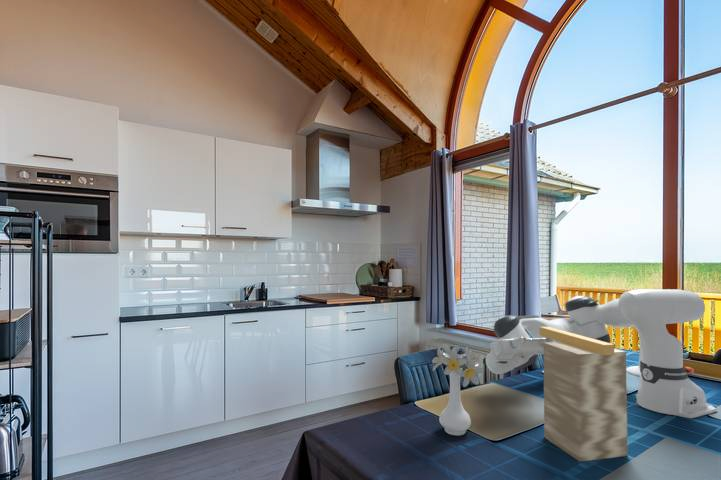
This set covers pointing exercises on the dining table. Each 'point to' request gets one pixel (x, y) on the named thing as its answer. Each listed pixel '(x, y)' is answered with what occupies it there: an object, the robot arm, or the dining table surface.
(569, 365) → the pedestal
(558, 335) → the bar
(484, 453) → the dining table surface
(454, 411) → the flower vase
